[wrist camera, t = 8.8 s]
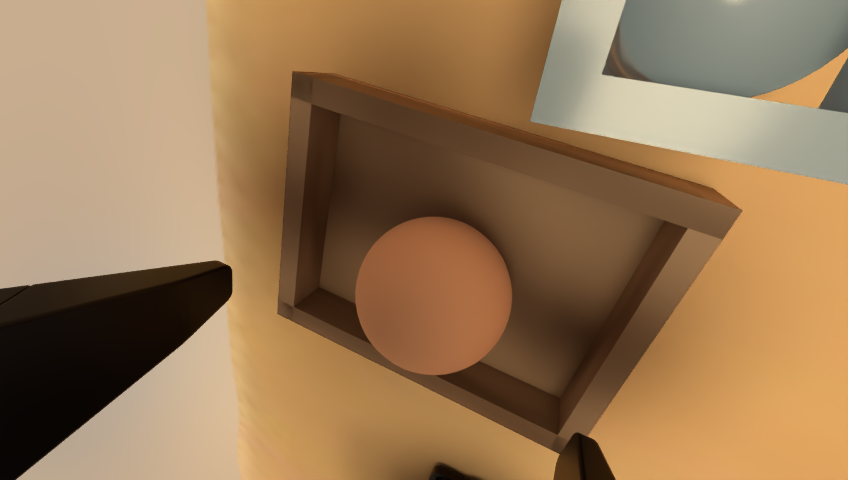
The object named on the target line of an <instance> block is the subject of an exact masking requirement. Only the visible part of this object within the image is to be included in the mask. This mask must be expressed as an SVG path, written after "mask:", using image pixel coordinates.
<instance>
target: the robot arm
mask: <svg viewBox="0 0 848 480" xmlns="http://www.w3.org/2000/svg"><path fill="white" fill-rule="evenodd" d="M231 295H232V269H231V267H230V266H228V265H226V264H224V263H222V262H220V261H208V262H200V263H192V264H186V265H177V266H170V267H162V268H155V269H147V270H140V271H132V272H125V273H117V274H110V275H103V276H94V277H87V278H80V279H72V280H64V281H57V282H49V283H42V284H35V285H32V286H28V285H26V286H18V287H12V288H3V289H0V480H16V479H17V478H18V477H20V476H21V475H22V474H23V473H25V472H26V471H27V470H28V469H29V468H31V467H32V466H33V465H35V464H36V463H37V462H38V461H39V460H41V459H42V458H43V457H44V456H46V455H47V454H48V453H49V452H50V451H52V450H53V449H54V448H55V447H57V446H58V445H59V444H60V443H62V442H63V441H64V440H65V439H66V438H68V437H69V436H70V435H71V434H73V433H74V432H75V431H76V430H78V429H79V428H80V427H81V426H82V425H84V424H85V423H86V422H87V421H89V420H90V419H91V418H92V417H94V416H95V415H96V414H97V413H99V412H100V411H101V410H102V409H103V408H105V407H106V406H107V405H108V404H109V403H111V402H112V401H113V400H115V399H116V398H117V397H118V396H119V395H121V394H122V393H123V392H124V391H126V390H127V389H128V388H129V387H131V386H132V385H133V384H134V383H135V382H137V381H138V380H139V379H140V378H142V377H143V376H144V375H145V374H146V373H148V372H149V371H150V370H151V369H153V368H154V367H155V366H156V365H158V364H159V363H160V362H161V361H162V360H164V359H165V358H166V357H167V356H169V355H170V354H171V353H172V352H174V351H175V350H176V349H177V348H178V347H180V346H181V345H182V344H183V343H184V342H185V341H186V340H187V339H188V338H190V337H191V336H192V335H193V334H194V333H195V332H196V331H197V330H198V329H199V328H200V327H201V326H202V325H203V324H204V323H205V322H206V321H207V320H208V319H209V318H210V317H211V316H212V315H213V314H214V313H215V312H217V311H218V310H219V308H221V307H222V306H223V305H224V304H225V303H226V302H227V301H228V300H229V298H230V297H231ZM429 480H467V479H465V478H463V477H461V476H460V475H458V474H456V473H454V472H452V471H450V470H449V469H447V468H445V467H442V466H436V467H435V468H434V470H433V472H432V474H431V477H430V479H429ZM553 480H616V479H615V477H614V475H613V473H612V471H611V469H610V467H609V465H608V463H607V461H606V459H605V457H604V455H603V453H602V451H601V449H600V447H599V445H598V443H597V442H596V441H595V440H594V439H592V438H589V437H587V436H585V435H583V434H581V433H578V432H576V433H574V434H573V435H572V437H571V438H570V440H569V441H568V443H567V444H566V446H565V447H564V449H563V450H562V452H561V453H560V455H559V457H558V460H557V463H556V468H555V474H554V479H553Z"/></svg>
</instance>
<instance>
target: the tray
mask: <svg viewBox="0 0 848 480" xmlns="http://www.w3.org/2000/svg"><path fill="white" fill-rule="evenodd" d="M741 212H742V210H741V209H740V208H738V207H737V206H736V205H734V204H733V203H732V202H730V201H729V200H728V199H726V198H725V197H724V196H722V195H721V194H720V193H718V192H717V191H716V190H714V189H713V188H709V187H706V186H703V185H699V184H696V183H693V182H690V181H686V180H683V179H680V178H676V177H673V176H670V175H666V174H663V173H660V172H657V171H653V170H650V169H647V168H643V167H640V166H637V165H633V164H630V163H627V162H623V161H620V160H617V159H614V158H610V157H607V156H604V155H600V154H597V153H594V152H590V151H587V150H584V149H580V148H577V147H574V146H571V145H567V144H564V143H561V142H557V141H554V140H551V139H547V138H544V137H541V136H537V135H534V134H531V133H528V132H524V131H521V130H518V129H514V128H511V127H508V126H504V125H501V124H498V123H494V122H491V121H488V120H485V119H481V118H478V117H475V116H471V115H468V114H465V113H461V112H458V111H455V110H451V109H448V108H445V107H442V106H438V105H435V104H432V103H428V102H425V101H422V100H418V99H415V98H412V97H408V96H405V95H402V94H399V93H395V92H392V91H389V90H385V89H382V88H379V87H375V86H372V85H369V84H365V83H362V82H359V81H356V80H352V79H349V78H346V77H342V76H339V75H336V74H332V73H314V72H296V71H293V74H292V90H291V105H290V121H289V137H288V153H287V169H286V185H285V201H284V217H283V233H282V248H281V264H280V280H279V296H278V312H277V314H279V315H281V316H283V317H285V318H287V319H289V320H291V321H293V322H295V323H297V324H299V325H301V326H303V327H305V328H307V329H309V330H311V331H313V332H315V333H317V334H319V335H321V336H323V337H325V338H327V339H329V340H331V341H333V342H335V343H337V344H339V345H341V346H343V347H345V348H347V349H349V350H351V351H353V352H355V353H357V354H359V355H361V356H363V357H365V358H367V359H369V360H371V361H373V362H375V363H377V364H379V365H382V366H384V367H386V368H388V369H390V370H392V371H394V372H396V373H398V374H400V375H402V376H404V377H406V378H408V379H410V380H412V381H414V382H416V383H418V384H420V385H422V386H424V387H426V388H428V389H430V390H432V391H434V392H436V393H438V394H440V395H442V396H444V397H446V398H448V399H450V400H452V401H454V402H456V403H458V404H460V405H462V406H464V407H466V408H468V409H470V410H472V411H474V412H476V413H478V414H480V415H482V416H484V417H486V418H488V419H490V420H492V421H494V422H496V423H498V424H500V425H502V426H504V427H506V428H508V429H510V430H512V431H514V432H516V433H518V434H520V435H522V436H524V437H526V438H528V439H530V440H532V441H534V442H536V443H538V444H540V445H542V446H545V447H547V448H549V449H551V450H553V451H555V452H557V453H559V454H560V453H561V452H562V450H563V449H564V447H565V446H566V444H567V443H568V441H569V440H570V438H571V437H572V435H573V434H574V433H576V432H578V433H581V434H583V435H585V436H588V434H589V433H590V431H591V430H592V429H593V427H594V426H595V424H596V423H597V421H598V420H599V418H600V417H601V415H602V414H603V413H604V411H605V410H606V408H607V407H608V405H609V404H610V402H611V401H612V399H613V398H614V397H615V395H616V394H617V392H618V391H619V389H620V388H621V386H622V385H623V383H624V382H625V381H626V379H627V378H628V376H629V375H630V373H631V372H632V370H633V369H634V368H635V366H636V365H637V363H638V362H639V360H640V359H641V357H642V356H643V354H644V353H645V352H646V350H647V349H648V347H649V346H650V344H651V343H652V341H653V340H654V338H655V337H656V336H657V334H658V333H659V331H660V330H661V328H662V327H663V325H664V324H665V322H666V321H667V320H668V318H669V317H670V315H671V314H672V312H673V311H674V309H675V308H676V306H677V305H678V304H679V302H680V301H681V299H682V298H683V296H684V295H685V293H686V292H687V291H688V289H689V288H690V286H691V285H692V283H693V282H694V280H695V279H696V277H697V276H698V275H699V273H700V272H701V270H702V269H703V267H704V266H705V264H706V263H707V261H708V260H709V259H710V257H711V256H712V254H713V253H714V251H715V250H716V248H717V247H718V245H719V244H720V243H721V241H722V240H723V238H724V237H725V235H726V234H727V232H728V231H729V229H730V228H731V227H732V225H733V224H734V222H735V221H736V219H737V218H738V216H739V215H740V213H741ZM422 217H445V218H451V219H455V220H458V221H461V222H463V223H466V224H468V225H470V226H471V227H473V228H475V229H476V230H478V231H479V232H480V233H482V234H483V235H484V236H485V237H486V238H487V239H489V240H490V241H491V242H492V244H493V245H494V246H495V247H496V248H497V250H498V251H499V253H500V255H501V256H502V258H503V260H504V262H505V264H506V266H507V270H508V273H509V276H510V280H511V286H512V306H511V312H510V316H509V320H508V322H507V325H506V328H505V330H504V332H503V334H502V336H501V337H500V339H499V341H498V342H497V343H496V345H495V346H494V347H493V349H492V350H491V351H490V352H489V353H488V354H487V355H486V356H484V357H483V358H482V359H480V360H479V361H478V362H477V363H475V364H473V365H471V366H469V367H468V368H465V369H463V370H460V371H457V372H453V373H449V374H443V375H424V374H419V373H414V372H411V371H408V370H405V369H403V368H401V367H399V366H397V365H395V364H393V363H392V362H390V361H389V360H388V359H386V358H385V357H384V356H383V355H382V354H381V353H379V352H378V351H377V350H376V349H375V347H374V346H373V345H372V344H371V342H370V341H369V339H368V338H367V336H366V335H365V333H364V331H363V328H362V326H361V324H360V321H359V317H358V314H357V308H356V302H355V290H356V282H357V278H358V274H359V270H360V268H361V265H362V263H363V260H364V259H365V257H366V255H367V253H368V252H369V250H370V249H371V247H372V246H373V245H374V244H375V243H376V241H377V240H378V239H379V238H380V237H382V236H383V235H384V234H385V233H386V232H388V231H389V230H391V229H392V228H394V227H395V226H397V225H399V224H401V223H404V222H406V221H409V220H412V219H417V218H422Z"/></svg>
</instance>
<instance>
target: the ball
mask: <svg viewBox="0 0 848 480" xmlns="http://www.w3.org/2000/svg"><path fill="white" fill-rule="evenodd" d="M355 302H356V308H357V314H358V317H359V321H360V324H361V326H362V328H363V331H364V333H365V335H366V336H367V338H368V339H369V341H370V342H371V344H372V345H373V346H374V347H375V349H376V350H377V351H378V352H379V353H381V354H382V355H383V356H384V357H385V358H386V359H388V360H389V361H390V362H392V363H393V364H395V365H397V366H399V367H401V368H403V369H405V370H408V371H411V372H414V373H419V374H424V375H443V374H449V373H453V372H457V371H460V370H463V369H465V368H468V367H469V366H471V365H473V364H475V363H477V362H478V361H479V360H480V359H482V358H483V357H484V356H486V355H487V354H488V353H489V352H490V351H491V350H492V349H493V347H494V346H495V345H496V343H497V342H498V341H499V339H500V337H501V336H502V334H503V332H504V330H505V328H506V325H507V322H508V320H509V316H510V312H511V306H512V286H511V280H510V276H509V273H508V270H507V266H506V264H505V262H504V260H503V258H502V256H501V255H500V253H499V251H498V250H497V248H496V247H495V246H494V245H493V244H492V242H491V241H490V240H489V239H487V238H486V237H485V236H484V235H483V234H482V233H480V232H479V231H478V230H476V229H475V228H473V227H471V226H470V225H468V224H466V223H463V222H461V221H458V220H455V219H451V218H445V217H422V218H417V219H412V220H409V221H406V222H404V223H401V224H399V225H397V226H395V227H394V228H392V229H391V230H389V231H388V232H386V233H385V234H384V235H383V236H382V237H380V238H379V239H378V240H377V241H376V243H375V244H374V245H373V246H372V247H371V249H370V250H369V252H368V253H367V255H366V257H365V259H364V260H363V263H362V265H361V268H360V270H359V274H358V278H357V282H356V290H355Z"/></svg>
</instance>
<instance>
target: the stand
mask: <svg viewBox="0 0 848 480" xmlns="http://www.w3.org/2000/svg"><path fill="white" fill-rule="evenodd" d="M847 48H848V0H562V2H561V6H560V9H559V13H558V17H557V21H556V25H555V28H554V32H553V36H552V40H551V43H550V47H549V51H548V55H547V59H546V62H545V66H544V70H543V74H542V78H541V81H540V85H539V89H538V93H537V96H536V100H535V104H534V108H533V112H532V115H531V119H530V122H534V123H539V124H544V125H549V126H555V127H560V128H565V129H570V130H575V131H580V132H585V133H590V134H595V135H600V136H605V137H610V138H615V139H620V140H625V141H630V142H635V143H640V144H645V145H651V146H656V147H661V148H666V149H671V150H676V151H681V152H686V153H691V154H696V155H701V156H706V157H711V158H716V159H721V160H726V161H731V162H736V163H742V164H747V165H752V166H757V167H762V168H767V169H772V170H777V171H782V172H787V173H792V174H797V175H802V176H807V177H812V178H817V179H822V180H827V181H832V182H838V183H843V184H848V58H847V60H846V62H845V64H844V65H843V67H842V69H841V71H840V72H839V74H838V76H837V77H836V79H835V81H834V83H833V84H832V86H831V88H830V89H829V91H828V93H827V95H826V96H825V98H824V100H823V101H822V103H821V105H820V107H819V108H811V107H805V106H798V105H792V104H786V103H779V102H773V101H766V100H760V99H754V98H749V97H753V96H757V95H761V94H765V93H768V92H771V91H774V90H777V89H780V88H783V87H785V86H787V85H789V84H791V83H794V82H796V81H798V80H800V79H802V78H804V77H806V76H807V75H809V74H811V73H813V72H814V71H816V70H818V69H820V68H821V67H823V66H824V65H826V64H827V63H828V62H830V61H831V60H833V59H834V58H836V57H837V56H838V55H840V54H841V53H842V52H843V51H844V50H846V49H847Z"/></svg>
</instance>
